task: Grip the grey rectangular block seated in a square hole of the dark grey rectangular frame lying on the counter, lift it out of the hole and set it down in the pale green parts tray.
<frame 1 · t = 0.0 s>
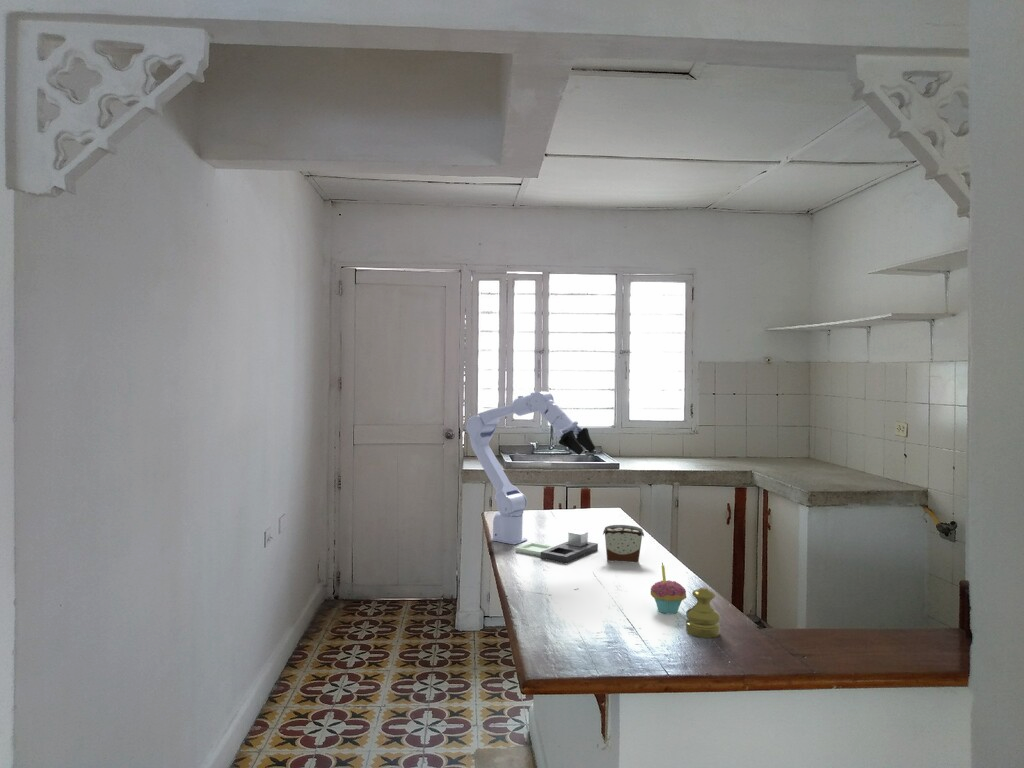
hand: (587, 451, 226), 32 cm above the breakfast bar, tool tilted 50°, fingers open, 7 cm apart
parts tray: (535, 551, 230), on the breakfast bar
cupcake: (667, 611, 178), on the breakfast bar
grey rectangular block: (577, 551, 232), resting in dark grey rectangular frame
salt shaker: (702, 633, 164), on the breakfast bar
food container: (622, 559, 223), on the breakfast bar
dark grey rectangular frame: (569, 554, 228), on the breakfast bar
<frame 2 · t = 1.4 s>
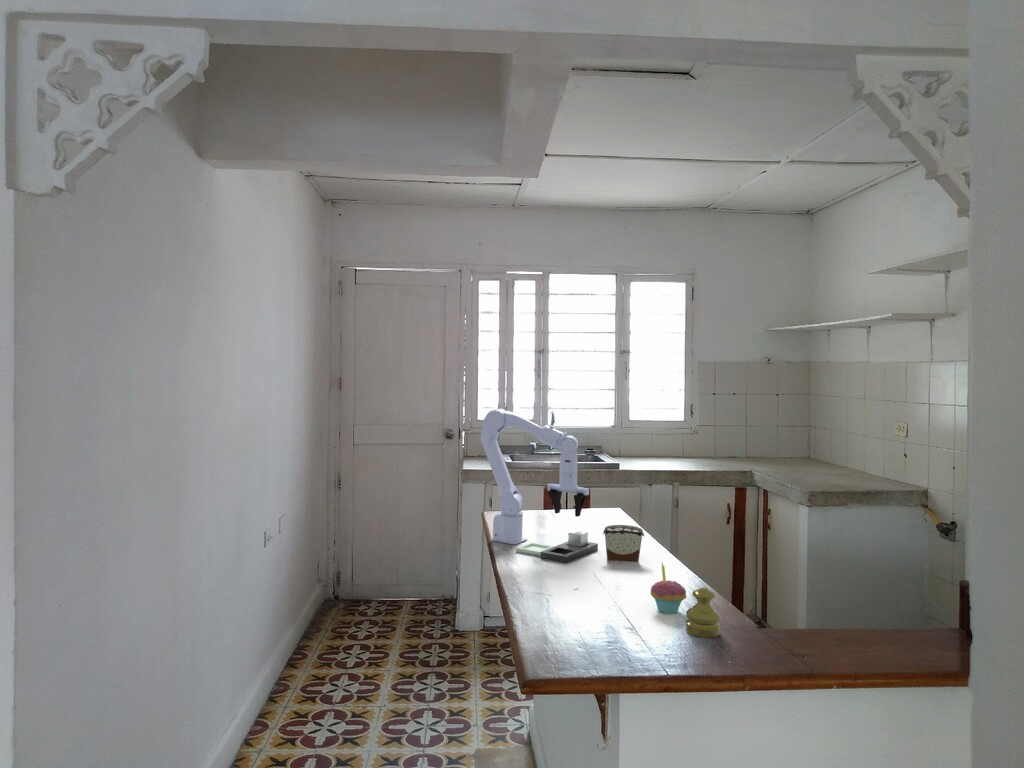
hand: (567, 514, 239), 10 cm above the breakfast bar, tool pointing down, fingers open, 7 cm apart
nothing on the breakfast bar moved.
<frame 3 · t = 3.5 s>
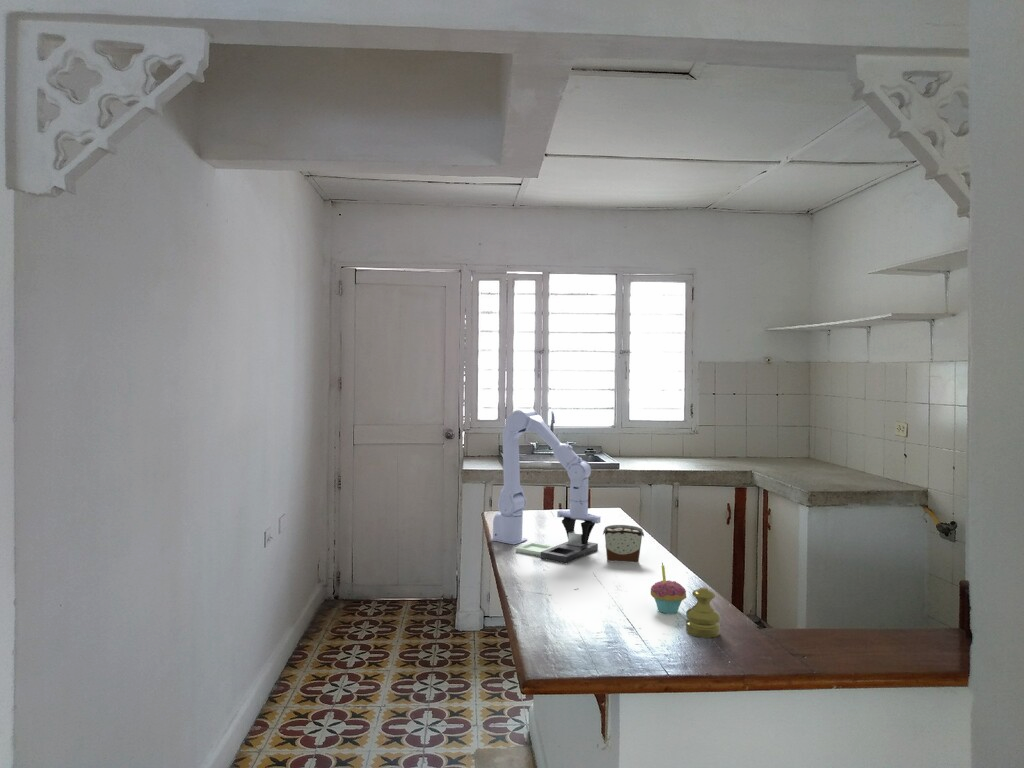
hand: (577, 542, 232), 3 cm above the breakfast bar, tool pointing down, fingers closed on grey rectangular block, 4 cm apart
grey rectangular block: (577, 550, 232), resting in dark grey rectangular frame, touching gripper
everything else where it was.
when the fingers open (5 cm above the breakfast bar, at t = 8.0 s): grey rectangular block stays where it is, resting on parts tray.
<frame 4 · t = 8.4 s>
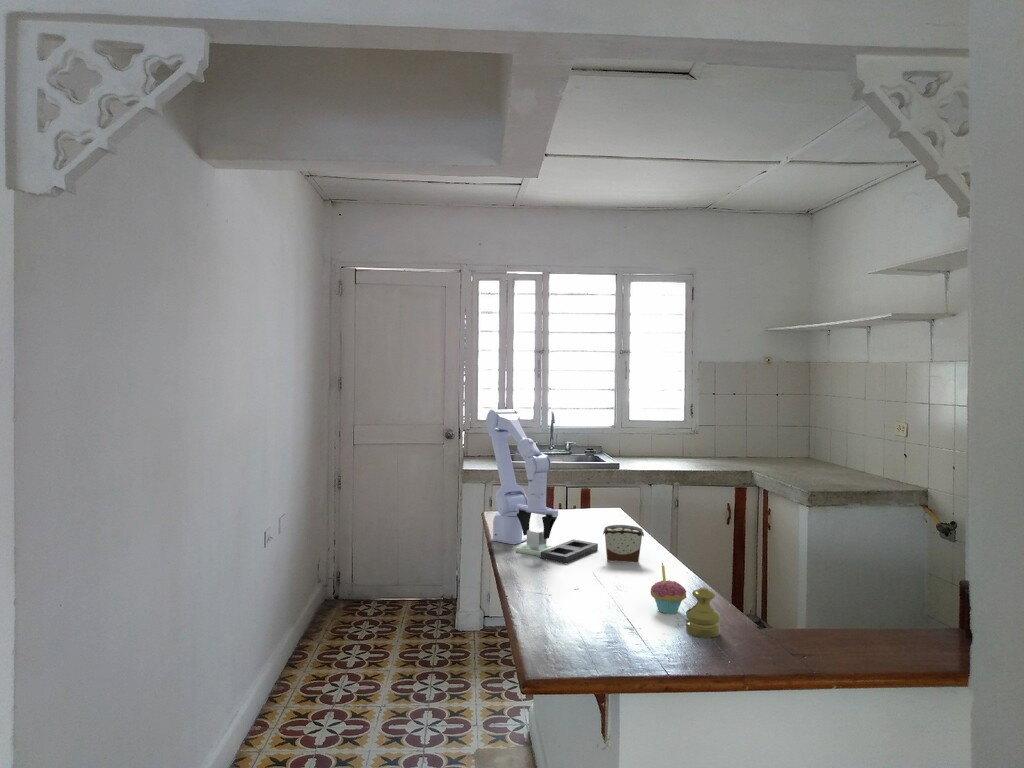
hand: (536, 536, 230), 5 cm above the breakfast bar, tool pointing down, fingers open, 7 cm apart
grey rectangular block: (536, 549, 230), point 1 cm above the breakfast bar, touching parts tray
everything else where it was.
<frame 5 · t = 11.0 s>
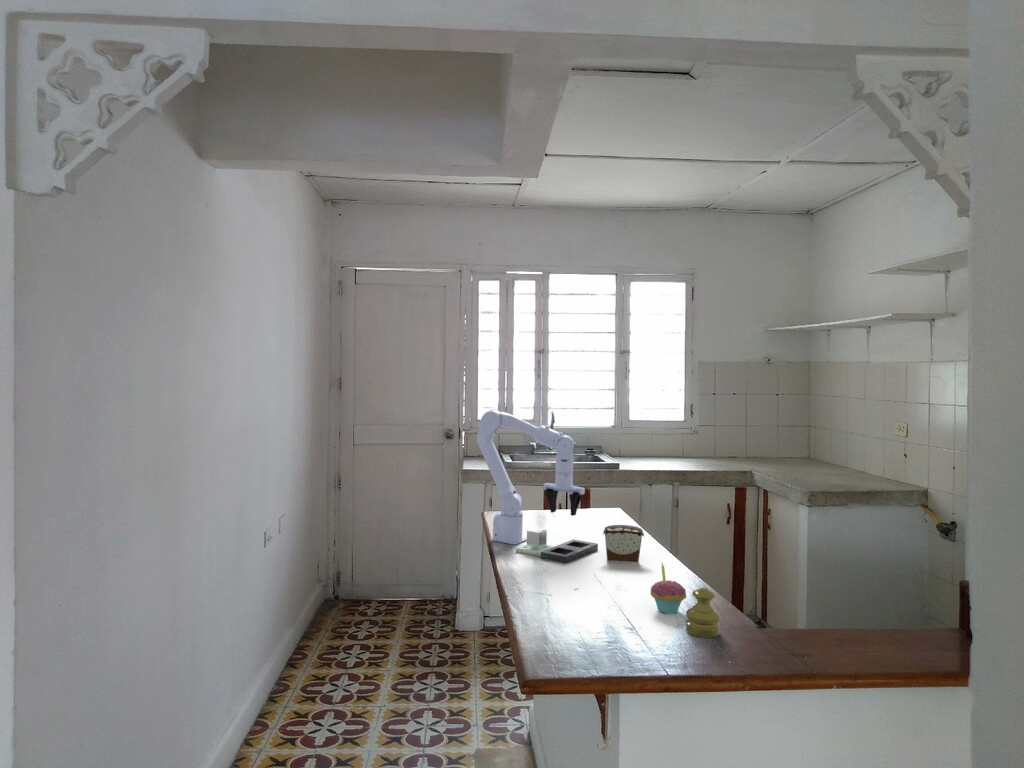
hand: (563, 513, 240), 10 cm above the breakfast bar, tool pointing down, fingers open, 7 cm apart
nothing on the breakfast bar moved.
at the end: grey rectangular block inside the target area on the parts tray (0.3 cm from its centre), point 0.6 cm above the parts tray's base; grey rectangular block tilted 0°; the gripper is holding nothing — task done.
